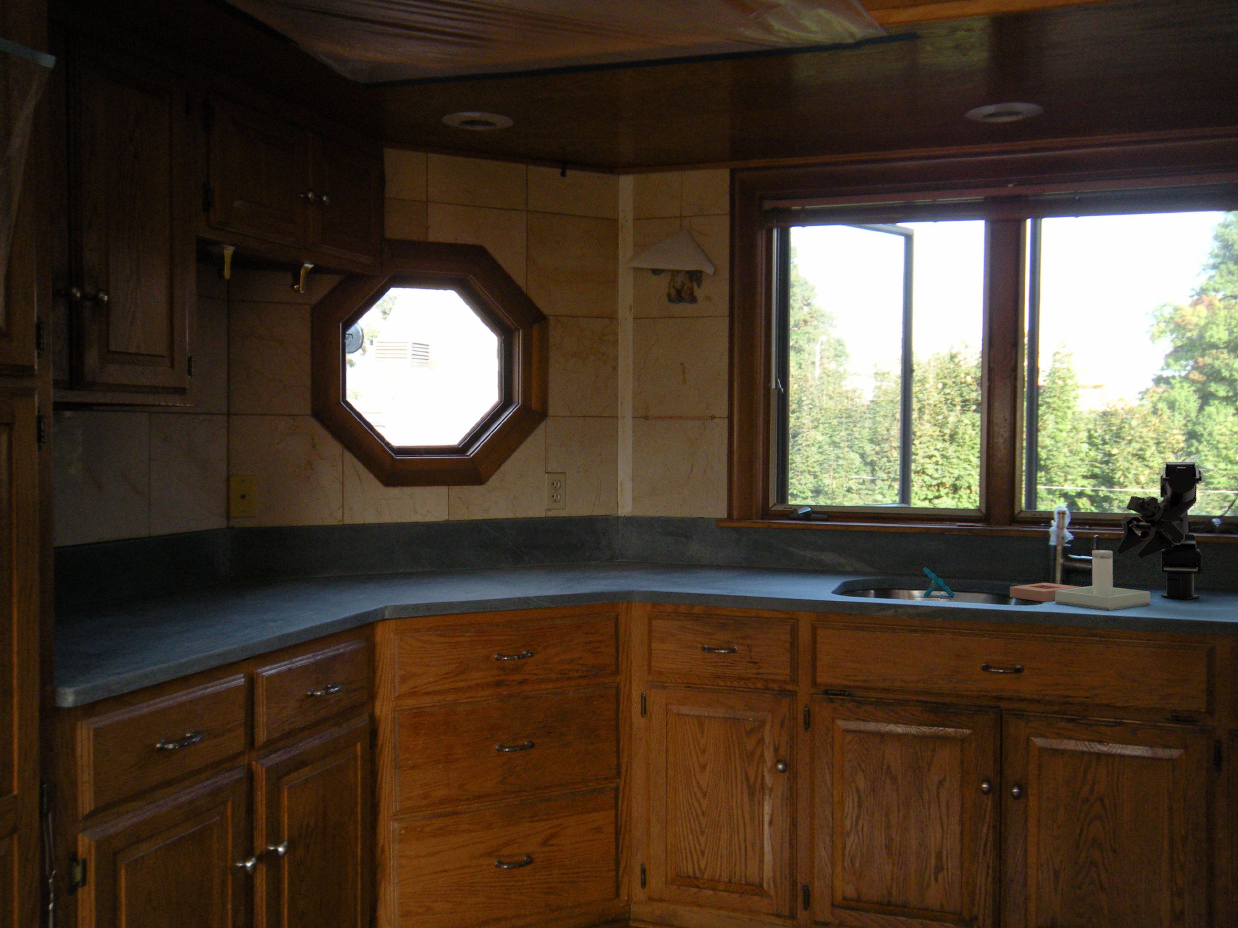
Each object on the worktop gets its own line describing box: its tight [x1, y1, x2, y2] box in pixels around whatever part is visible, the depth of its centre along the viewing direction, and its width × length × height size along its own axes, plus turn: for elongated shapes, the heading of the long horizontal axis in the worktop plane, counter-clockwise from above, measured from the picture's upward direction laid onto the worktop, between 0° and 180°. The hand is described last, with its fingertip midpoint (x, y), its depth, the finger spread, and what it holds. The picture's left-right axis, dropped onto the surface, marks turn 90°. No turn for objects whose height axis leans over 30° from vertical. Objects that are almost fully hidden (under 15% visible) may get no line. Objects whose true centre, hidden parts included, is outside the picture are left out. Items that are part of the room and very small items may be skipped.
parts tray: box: [1054, 585, 1151, 611], centre depth 247 cm, size 16×14×3 cm
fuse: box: [1091, 549, 1114, 597], centre depth 247 cm, size 4×4×12 cm
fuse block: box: [1009, 582, 1081, 603], centre depth 260 cm, size 14×10×2 cm
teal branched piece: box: [922, 566, 956, 599], centre depth 262 cm, size 11×6×10 cm
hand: (1127, 554), depth 248 cm, fingers open, 9 cm apart
